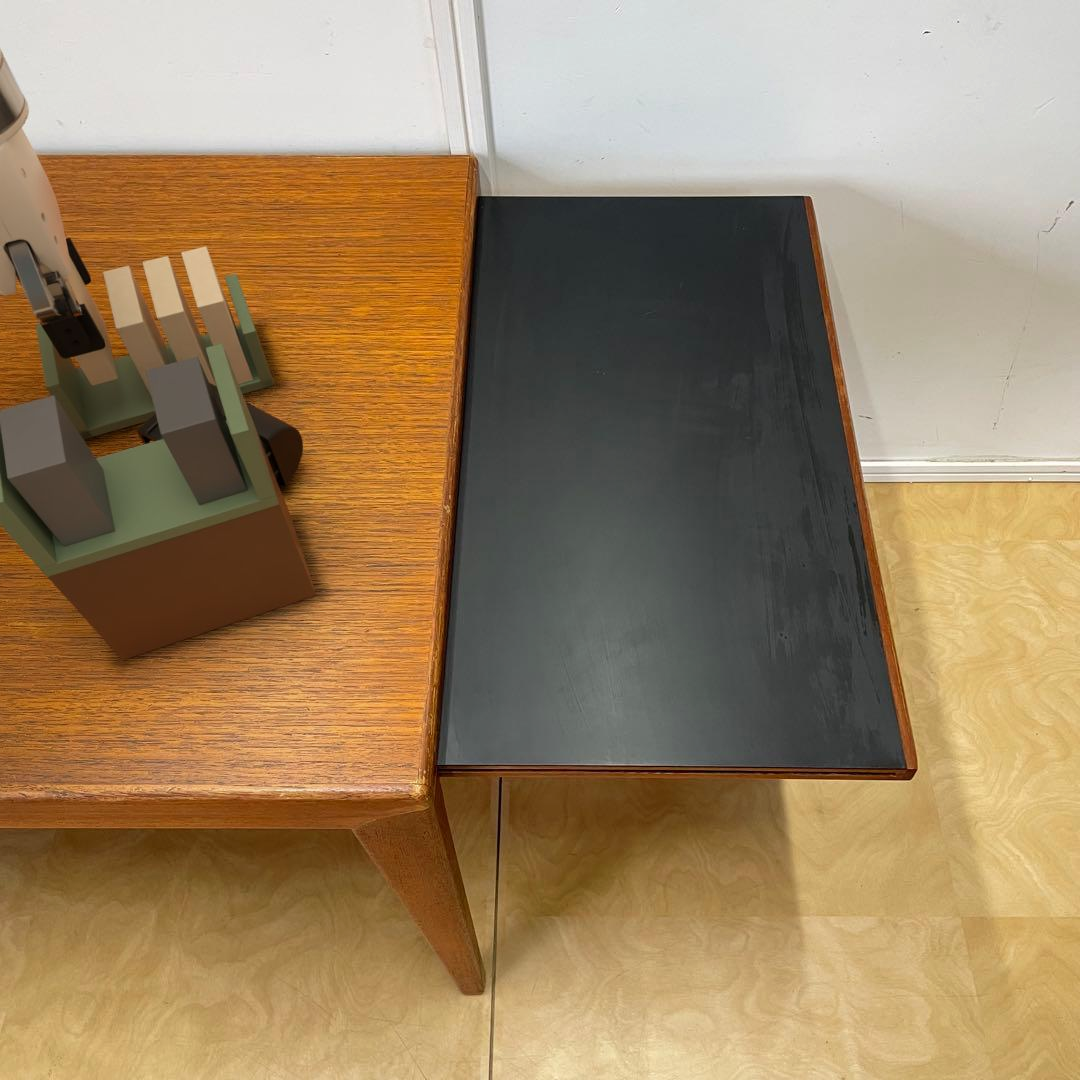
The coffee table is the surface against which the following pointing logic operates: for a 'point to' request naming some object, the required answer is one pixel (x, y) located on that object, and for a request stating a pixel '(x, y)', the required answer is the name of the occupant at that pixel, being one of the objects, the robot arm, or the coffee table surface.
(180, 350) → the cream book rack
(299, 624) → the coffee table surface
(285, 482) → the end cap
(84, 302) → the cream book
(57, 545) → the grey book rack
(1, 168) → the robot arm
